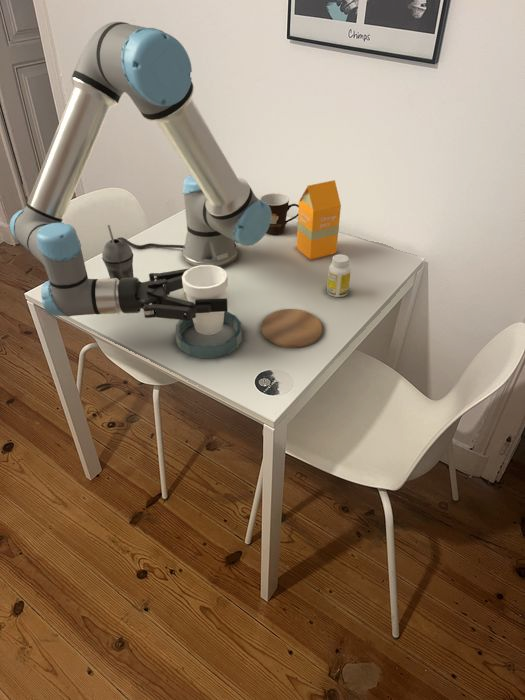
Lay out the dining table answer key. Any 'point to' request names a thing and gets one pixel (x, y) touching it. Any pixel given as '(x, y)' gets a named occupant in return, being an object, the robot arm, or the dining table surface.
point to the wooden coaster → (291, 328)
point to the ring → (210, 350)
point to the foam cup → (206, 294)
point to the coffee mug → (277, 212)
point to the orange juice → (318, 220)
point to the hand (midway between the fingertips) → (226, 291)
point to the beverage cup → (118, 258)
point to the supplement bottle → (338, 276)
